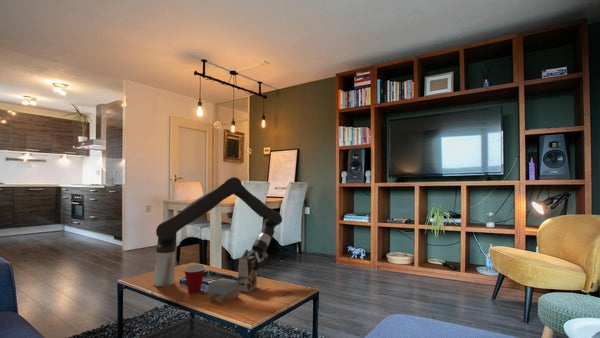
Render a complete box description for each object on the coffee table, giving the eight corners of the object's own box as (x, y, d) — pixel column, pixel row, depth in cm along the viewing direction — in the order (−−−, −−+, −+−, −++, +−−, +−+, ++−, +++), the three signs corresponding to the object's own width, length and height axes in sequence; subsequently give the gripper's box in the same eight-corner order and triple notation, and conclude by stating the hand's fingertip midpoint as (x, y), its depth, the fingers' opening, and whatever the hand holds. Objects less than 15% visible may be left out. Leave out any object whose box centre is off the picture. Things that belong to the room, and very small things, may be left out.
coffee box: (248, 292, 156) (249, 259, 157) (237, 290, 158) (238, 258, 159) (257, 287, 165) (257, 255, 166) (246, 285, 167) (246, 254, 168)
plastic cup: (177, 293, 153) (178, 268, 154) (191, 287, 163) (192, 263, 164) (196, 296, 150) (197, 270, 150) (209, 289, 160) (210, 265, 161)
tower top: (208, 291, 145) (208, 283, 145) (221, 286, 154) (222, 278, 154) (224, 295, 141) (224, 286, 141) (237, 289, 150) (237, 280, 150)
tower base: (207, 300, 145) (207, 291, 145) (222, 294, 154) (222, 286, 154) (223, 304, 140) (224, 295, 141) (238, 298, 149) (238, 289, 149)
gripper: (248, 237, 175) (234, 263, 164) (269, 240, 168) (256, 266, 157) (254, 246, 179) (240, 271, 168) (275, 248, 172) (262, 275, 161)
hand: (248, 269), depth 163 cm, fingers open, 8 cm apart
